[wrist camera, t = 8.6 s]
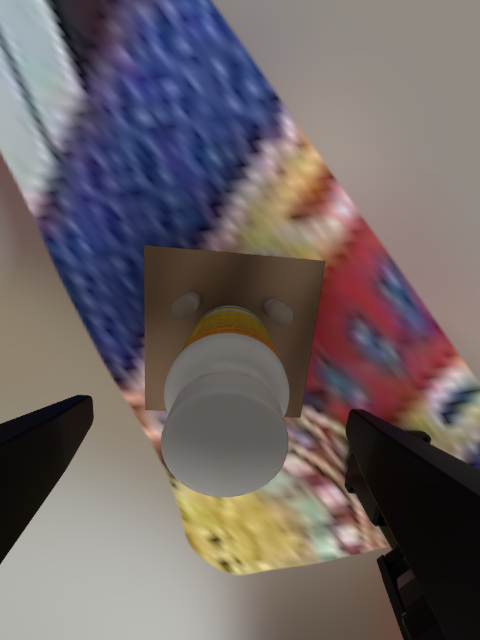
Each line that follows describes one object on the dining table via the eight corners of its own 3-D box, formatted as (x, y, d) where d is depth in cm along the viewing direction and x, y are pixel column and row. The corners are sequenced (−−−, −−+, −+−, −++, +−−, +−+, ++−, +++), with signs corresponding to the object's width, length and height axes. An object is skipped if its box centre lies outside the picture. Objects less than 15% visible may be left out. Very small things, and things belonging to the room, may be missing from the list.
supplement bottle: (189, 305, 16) (122, 371, 6) (267, 303, 16) (317, 365, 6) (195, 377, 17) (146, 519, 8) (267, 374, 17) (307, 512, 8)
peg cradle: (317, 261, 17) (351, 259, 12) (295, 406, 20) (316, 452, 15) (151, 247, 16) (117, 238, 11) (151, 398, 19) (124, 444, 14)
